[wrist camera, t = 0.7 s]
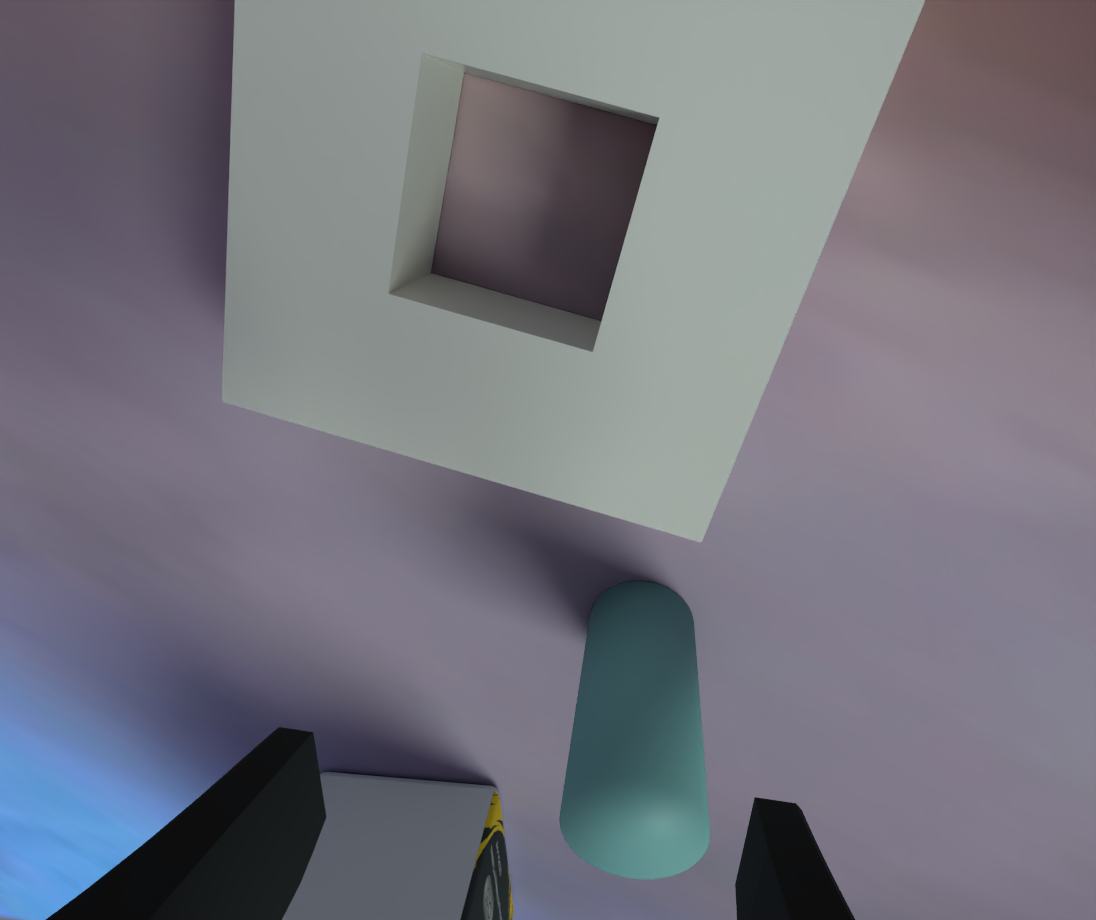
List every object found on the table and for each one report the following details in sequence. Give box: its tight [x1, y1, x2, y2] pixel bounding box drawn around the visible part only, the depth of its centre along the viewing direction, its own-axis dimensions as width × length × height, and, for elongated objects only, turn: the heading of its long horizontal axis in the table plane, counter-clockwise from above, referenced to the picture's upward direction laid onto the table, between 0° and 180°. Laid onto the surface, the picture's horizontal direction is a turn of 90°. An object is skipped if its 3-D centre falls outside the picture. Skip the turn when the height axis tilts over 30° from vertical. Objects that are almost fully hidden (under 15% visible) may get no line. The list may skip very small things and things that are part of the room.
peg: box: [560, 581, 710, 879], centre depth 17 cm, size 3×3×7 cm
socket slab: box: [222, 0, 925, 543], centre depth 15 cm, size 12×12×3 cm
